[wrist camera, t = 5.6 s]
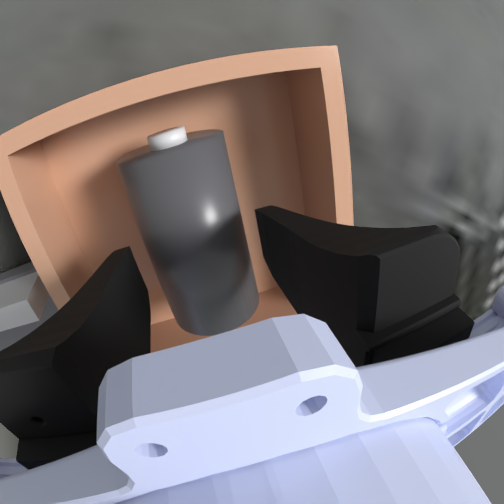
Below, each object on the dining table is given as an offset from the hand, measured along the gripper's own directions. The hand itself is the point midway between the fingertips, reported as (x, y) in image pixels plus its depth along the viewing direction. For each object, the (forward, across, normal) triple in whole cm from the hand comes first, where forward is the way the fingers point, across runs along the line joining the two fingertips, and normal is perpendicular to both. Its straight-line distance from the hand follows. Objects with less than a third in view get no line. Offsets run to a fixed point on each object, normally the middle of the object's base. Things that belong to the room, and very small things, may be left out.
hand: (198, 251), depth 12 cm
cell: (+1, 0, 0) cm, 1 cm away
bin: (+4, 0, 0) cm, 4 cm away
